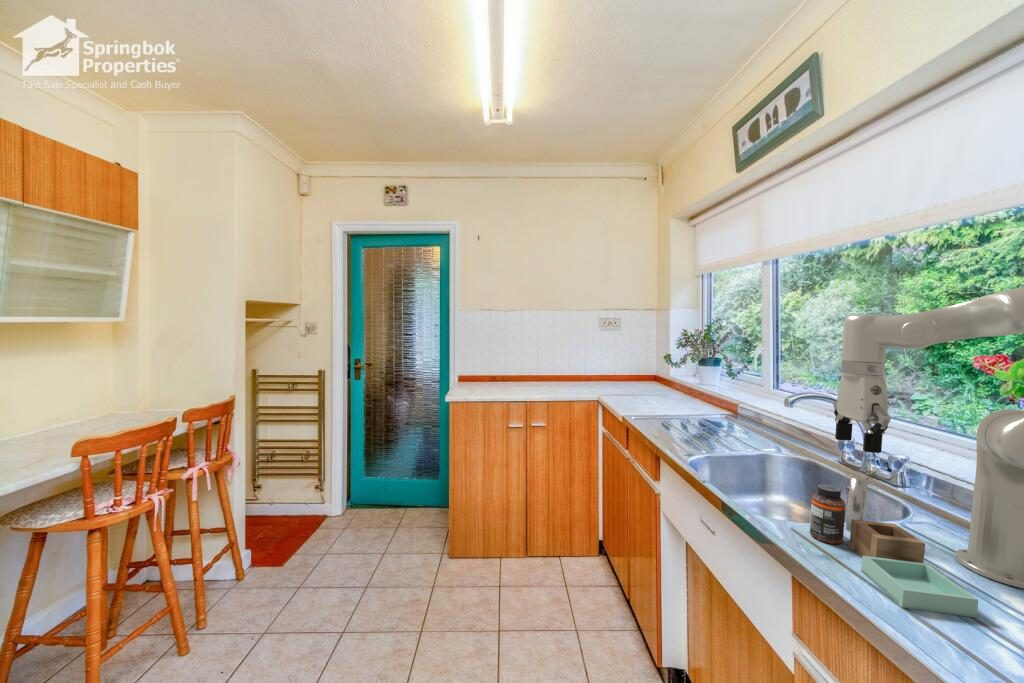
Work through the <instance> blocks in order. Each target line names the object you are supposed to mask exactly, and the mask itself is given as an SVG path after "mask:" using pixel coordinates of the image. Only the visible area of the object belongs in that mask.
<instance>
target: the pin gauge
mask: <svg viewBox="0 0 1024 683" xmlns="http://www.w3.org/2000/svg"><path fill="white" fill-rule="evenodd" d="M868 490H869V480H868V479H866V478H865V477H862V476H855V475H854V476H850V477H849V488H848V496H847V497H848V498H847V499H848V500H847V508H846V509H847V510H846V518H845V530H847V531H848V532H850V533H851V523H852V519H854V520H864V521H866V511H867V509H866V508H867V499H868Z"/></svg>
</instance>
